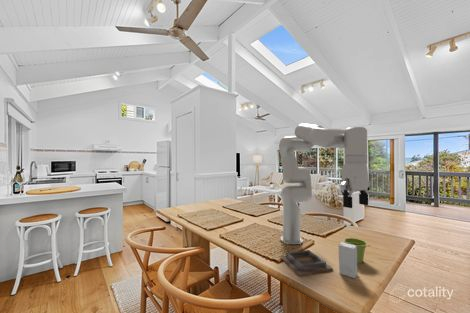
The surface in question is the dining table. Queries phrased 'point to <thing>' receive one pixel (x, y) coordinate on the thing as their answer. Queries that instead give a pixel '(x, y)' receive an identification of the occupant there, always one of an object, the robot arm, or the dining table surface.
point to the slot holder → (306, 263)
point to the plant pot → (360, 247)
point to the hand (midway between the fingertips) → (355, 205)
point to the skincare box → (348, 260)
